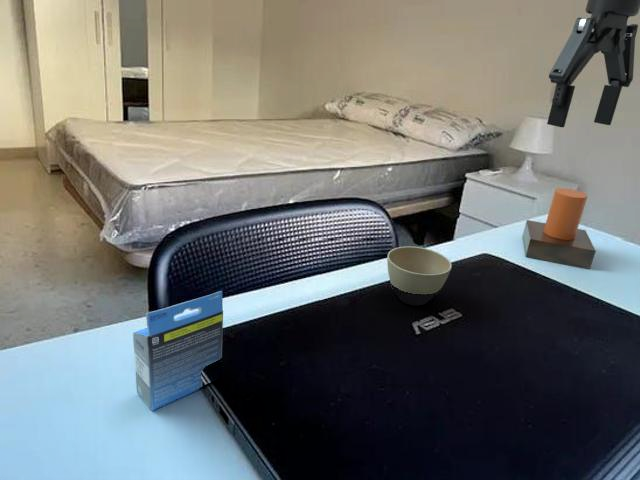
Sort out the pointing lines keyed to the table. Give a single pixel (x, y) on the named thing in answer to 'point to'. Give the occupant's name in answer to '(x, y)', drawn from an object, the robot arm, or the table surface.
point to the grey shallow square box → (557, 246)
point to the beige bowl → (417, 269)
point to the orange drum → (565, 213)
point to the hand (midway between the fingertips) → (579, 124)
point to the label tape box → (177, 349)
